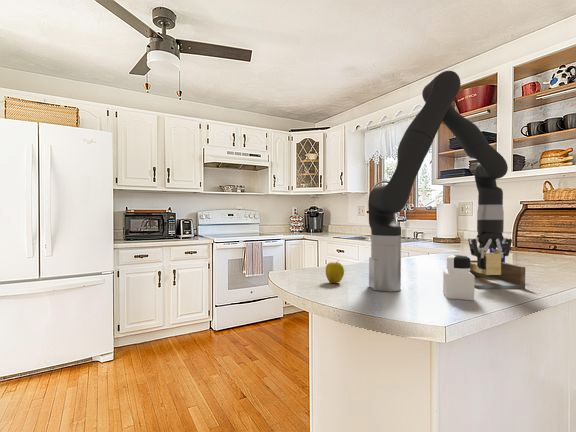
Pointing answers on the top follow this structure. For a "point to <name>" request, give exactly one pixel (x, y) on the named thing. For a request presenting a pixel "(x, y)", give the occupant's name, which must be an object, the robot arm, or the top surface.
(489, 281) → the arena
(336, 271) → the apple
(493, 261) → the brass bracket
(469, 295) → the medicine bottle
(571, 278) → the top surface
